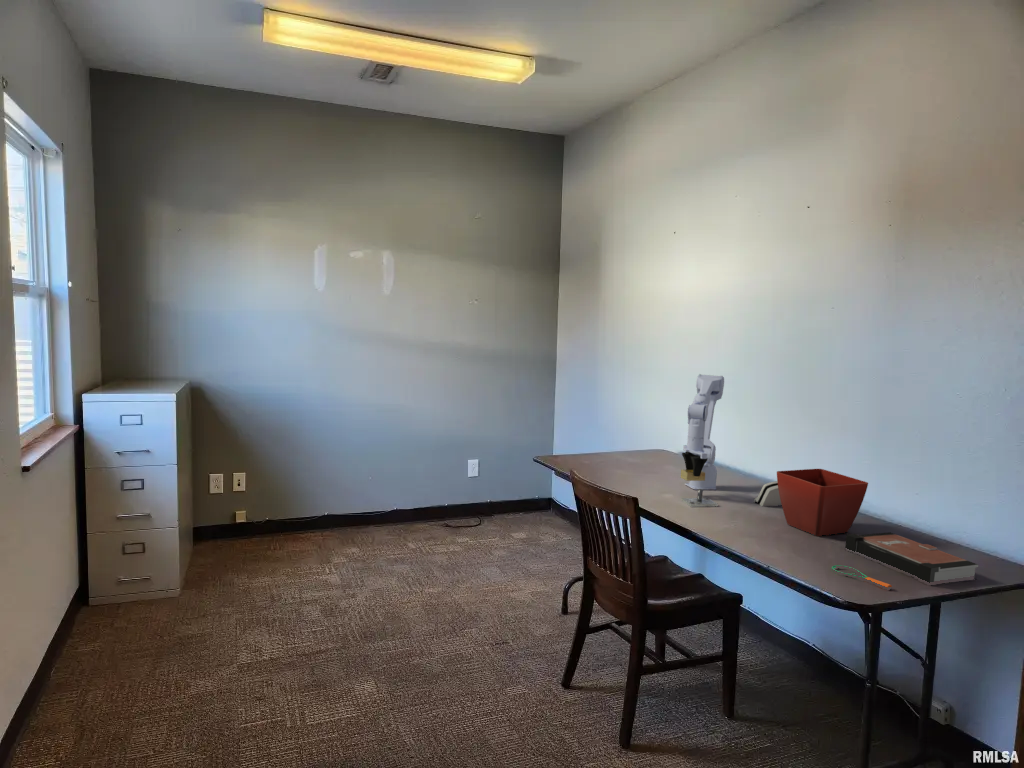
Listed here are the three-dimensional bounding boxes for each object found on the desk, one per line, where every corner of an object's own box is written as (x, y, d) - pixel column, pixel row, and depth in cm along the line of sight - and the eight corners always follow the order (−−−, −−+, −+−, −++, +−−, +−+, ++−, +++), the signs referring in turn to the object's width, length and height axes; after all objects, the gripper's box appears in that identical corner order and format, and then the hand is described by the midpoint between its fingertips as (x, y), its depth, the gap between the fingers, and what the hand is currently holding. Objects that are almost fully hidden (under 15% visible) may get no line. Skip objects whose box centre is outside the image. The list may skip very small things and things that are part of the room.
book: (978, 581, 173) (980, 562, 172) (928, 587, 167) (931, 568, 166) (890, 547, 197) (892, 530, 197) (844, 551, 191) (846, 534, 191)
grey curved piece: (792, 500, 243) (801, 477, 239) (800, 508, 239) (809, 485, 235) (752, 502, 239) (760, 478, 234) (759, 510, 234) (768, 486, 230)
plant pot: (817, 541, 197) (822, 485, 196) (770, 522, 215) (775, 470, 213) (864, 536, 205) (870, 482, 203) (815, 518, 222) (820, 468, 221)
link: (698, 477, 246) (698, 469, 245) (704, 480, 241) (705, 472, 241) (680, 477, 244) (681, 469, 244) (686, 480, 239) (687, 472, 239)
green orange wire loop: (826, 571, 174) (826, 565, 174) (841, 568, 177) (841, 562, 177) (881, 593, 161) (882, 587, 161) (896, 590, 164) (897, 583, 164)
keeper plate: (707, 500, 237) (708, 487, 237) (717, 506, 231) (718, 492, 230) (681, 501, 235) (682, 487, 235) (690, 506, 229) (691, 492, 228)
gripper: (676, 433, 247) (674, 469, 249) (695, 441, 233) (692, 479, 235) (694, 433, 249) (691, 469, 250) (713, 441, 235) (710, 479, 236)
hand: (693, 474), depth 242 cm, fingers closed on link, 5 cm apart
